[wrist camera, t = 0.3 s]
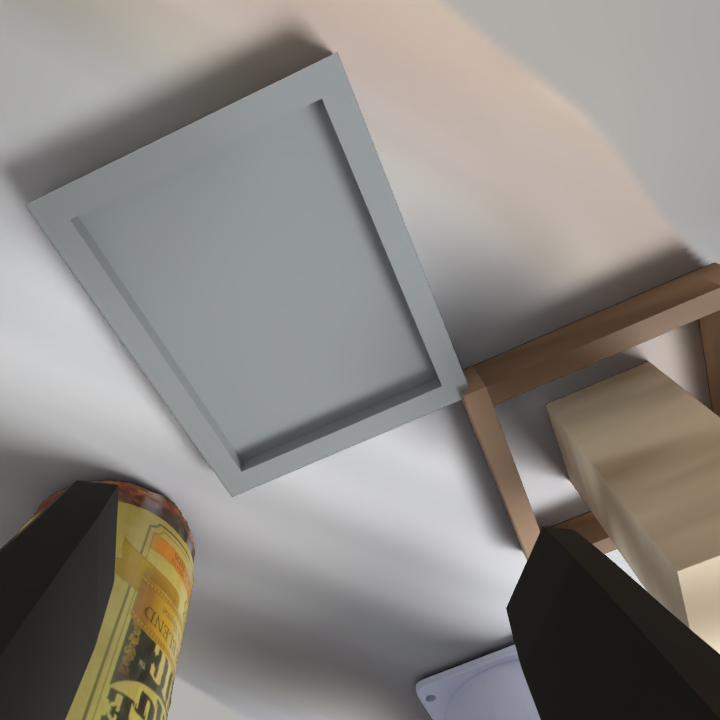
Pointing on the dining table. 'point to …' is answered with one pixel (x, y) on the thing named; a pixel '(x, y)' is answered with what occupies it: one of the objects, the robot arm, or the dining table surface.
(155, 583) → the sauce bottle
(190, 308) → the tray
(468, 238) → the dining table surface
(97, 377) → the dining table surface
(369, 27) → the dining table surface
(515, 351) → the holder
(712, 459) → the peg
